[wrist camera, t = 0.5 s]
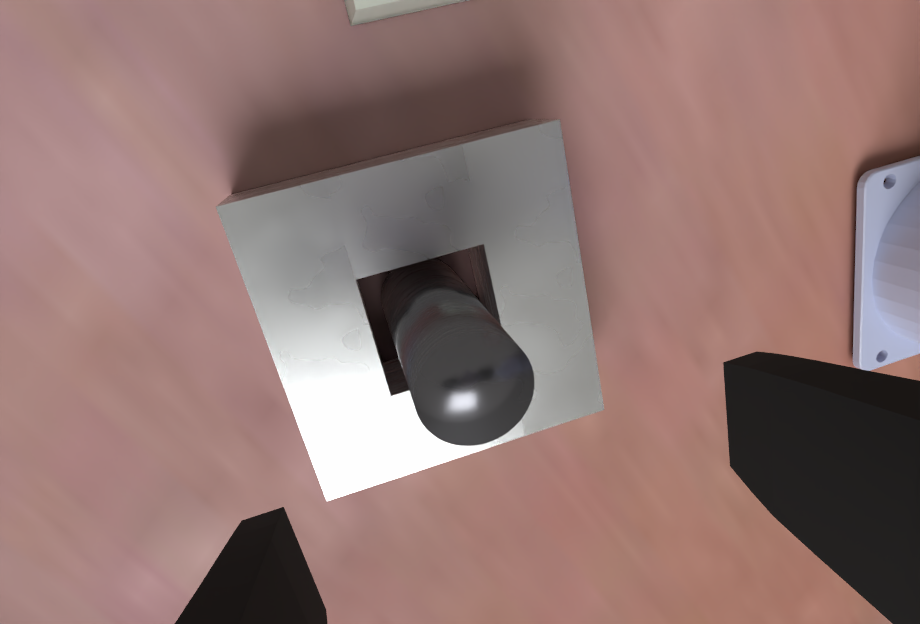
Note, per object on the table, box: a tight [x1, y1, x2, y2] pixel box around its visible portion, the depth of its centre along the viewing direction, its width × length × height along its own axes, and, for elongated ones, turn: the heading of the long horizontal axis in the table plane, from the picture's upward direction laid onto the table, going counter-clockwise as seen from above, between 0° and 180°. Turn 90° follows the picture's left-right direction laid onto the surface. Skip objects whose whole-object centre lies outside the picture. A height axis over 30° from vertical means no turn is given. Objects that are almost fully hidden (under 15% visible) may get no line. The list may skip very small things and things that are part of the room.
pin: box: [381, 258, 534, 446], centre depth 15 cm, size 3×3×7 cm
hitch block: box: [216, 119, 604, 501], centre depth 17 cm, size 9×9×2 cm
